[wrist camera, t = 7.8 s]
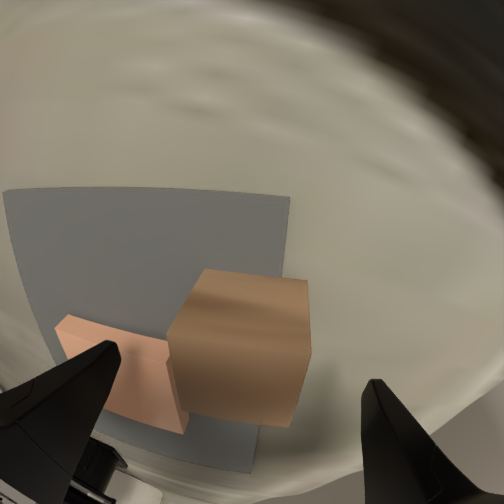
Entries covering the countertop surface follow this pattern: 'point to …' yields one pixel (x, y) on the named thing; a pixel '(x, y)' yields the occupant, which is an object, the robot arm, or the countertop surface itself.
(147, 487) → the bottle
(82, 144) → the countertop surface
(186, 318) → the cube
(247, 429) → the mat
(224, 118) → the countertop surface
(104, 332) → the tile
